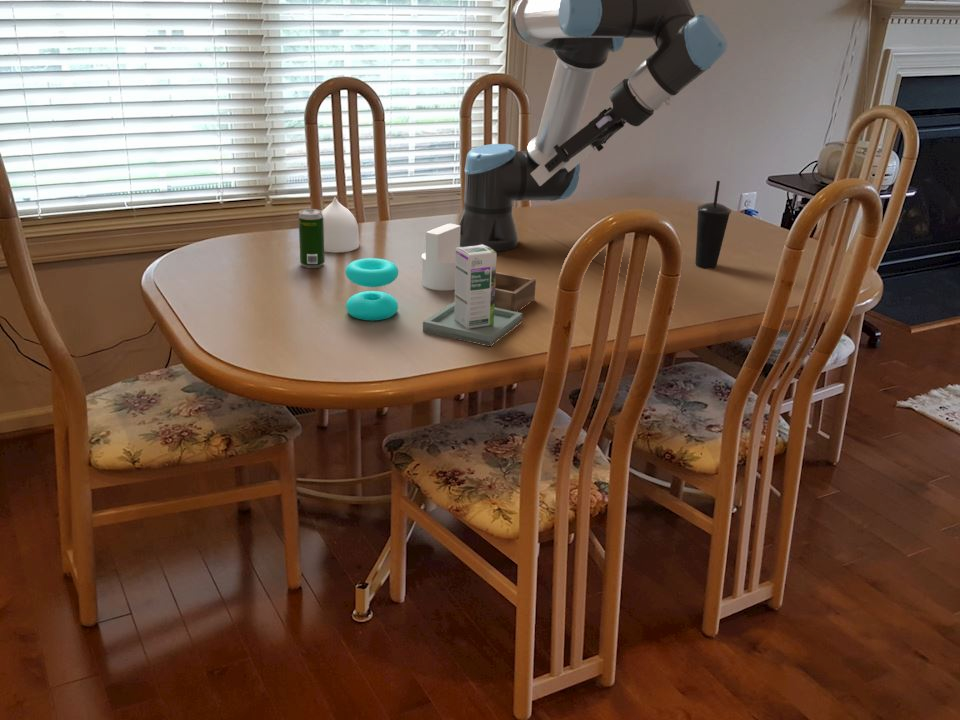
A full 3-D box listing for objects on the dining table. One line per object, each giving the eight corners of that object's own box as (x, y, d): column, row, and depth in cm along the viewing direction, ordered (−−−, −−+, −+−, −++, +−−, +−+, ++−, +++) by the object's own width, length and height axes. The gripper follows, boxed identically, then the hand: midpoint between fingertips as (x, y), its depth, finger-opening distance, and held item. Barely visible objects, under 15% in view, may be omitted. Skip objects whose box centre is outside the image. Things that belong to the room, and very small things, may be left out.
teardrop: (346, 255, 214) (346, 204, 209) (303, 248, 217) (302, 198, 212) (367, 242, 223) (366, 193, 219) (325, 236, 227) (324, 188, 222)
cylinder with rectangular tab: (447, 293, 193) (449, 237, 188) (412, 284, 197) (413, 229, 192) (471, 282, 200) (473, 228, 195) (436, 273, 204) (437, 220, 199)
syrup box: (467, 330, 172) (469, 255, 166) (452, 319, 177) (455, 245, 171) (494, 325, 175) (497, 251, 169) (479, 315, 179) (482, 242, 173)
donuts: (363, 253, 183) (407, 261, 179) (363, 300, 187) (407, 310, 183) (335, 266, 174) (381, 276, 171) (336, 316, 178) (381, 326, 175)
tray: (422, 331, 173) (423, 321, 172) (457, 308, 185) (457, 299, 184) (490, 347, 168) (490, 336, 167) (521, 322, 179) (522, 313, 179)
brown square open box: (468, 305, 187) (469, 284, 185) (490, 291, 195) (491, 270, 193) (514, 315, 183) (515, 293, 181) (534, 300, 191) (535, 279, 189)
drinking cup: (723, 272, 214) (736, 186, 206) (689, 268, 215) (701, 183, 207) (722, 262, 221) (734, 178, 213) (689, 259, 222) (700, 176, 214)
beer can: (326, 267, 205) (325, 214, 200) (302, 269, 203) (300, 215, 198) (322, 260, 209) (320, 208, 204) (298, 261, 208) (296, 209, 203)
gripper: (631, 122, 144) (535, 203, 156) (675, 103, 164) (587, 176, 176) (602, 84, 144) (508, 167, 156) (649, 69, 164) (563, 144, 176)
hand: (550, 172), depth 166 cm, fingers open, 13 cm apart
